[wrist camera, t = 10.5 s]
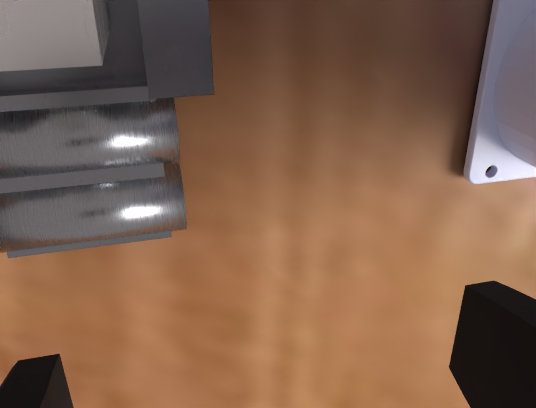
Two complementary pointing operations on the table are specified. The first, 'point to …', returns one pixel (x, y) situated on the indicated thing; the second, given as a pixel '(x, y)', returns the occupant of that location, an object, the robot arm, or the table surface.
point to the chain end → (103, 135)
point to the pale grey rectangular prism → (53, 33)
